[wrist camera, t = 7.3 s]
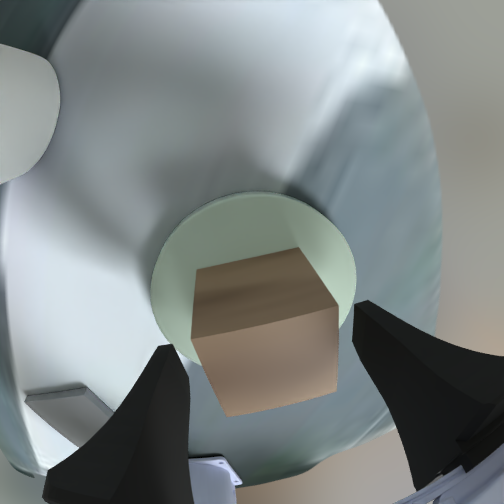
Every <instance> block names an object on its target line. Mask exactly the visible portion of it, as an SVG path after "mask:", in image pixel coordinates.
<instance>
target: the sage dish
mask: <svg viewBox="0 0 504 504" xmlns="http://www.w3.org/2000/svg"><path fill="white" fill-rule="evenodd" d="M297 247H299V248H300V249H301V251H302V252H303V254H304V255H305V256H306V258H307V259H308V261H309V262H310V264H311V265H312V267H313V268H314V269H315V271H316V272H317V274H318V275H319V277H320V278H321V280H322V281H323V283H324V284H325V286H326V287H327V288H328V290H329V291H330V293H331V294H332V296H333V297H334V299H335V300H336V302H337V303H338V305H339V328H340V326H341V325H342V324H343V322H344V320H345V318H346V317H347V315H348V313H349V310H350V308H351V305H352V302H353V299H354V294H355V289H356V268H355V263H354V258H353V255H352V252H351V250H350V247H349V245H348V243H347V242H346V240H345V238H344V236H343V235H342V234H341V233H340V231H339V230H338V229H337V228H336V226H334V225H333V224H332V223H331V222H330V221H329V220H328V219H327V218H326V217H324V216H323V215H322V214H321V213H320V212H318V211H317V210H316V209H314V208H313V207H311V206H310V205H308V204H306V203H305V202H302V201H300V200H298V199H296V198H294V197H290V196H287V195H284V194H280V193H274V192H267V191H249V192H241V193H234V194H231V195H227V196H223V197H220V198H218V199H215V200H213V201H211V202H208V203H206V204H205V205H203V206H201V207H200V208H198V209H196V210H195V211H193V212H192V213H191V214H190V215H188V216H187V217H186V218H185V219H183V220H182V221H181V222H180V224H179V225H178V226H177V227H176V228H175V229H174V230H173V231H172V233H171V234H170V236H169V237H168V239H167V240H166V242H165V244H164V246H163V248H162V250H161V252H160V254H159V257H158V259H157V262H156V264H155V268H154V271H153V274H152V280H151V287H150V296H151V305H152V310H153V314H154V317H155V320H156V322H157V324H158V326H159V328H160V330H161V332H162V333H163V335H164V336H165V338H166V339H167V340H168V342H169V343H170V344H173V346H174V348H175V349H176V350H177V351H179V352H180V353H181V354H182V355H184V356H185V357H187V358H188V359H190V360H191V361H193V362H195V363H197V364H199V365H201V366H202V364H201V362H200V360H199V358H198V355H197V353H196V351H195V349H194V346H193V344H192V342H191V326H192V313H193V301H194V290H195V280H196V270H197V269H201V268H206V267H211V266H215V265H220V264H224V263H229V262H233V261H238V260H242V259H247V258H252V257H256V256H261V255H265V254H270V253H274V252H279V251H283V250H288V249H292V248H297Z"/></svg>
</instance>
